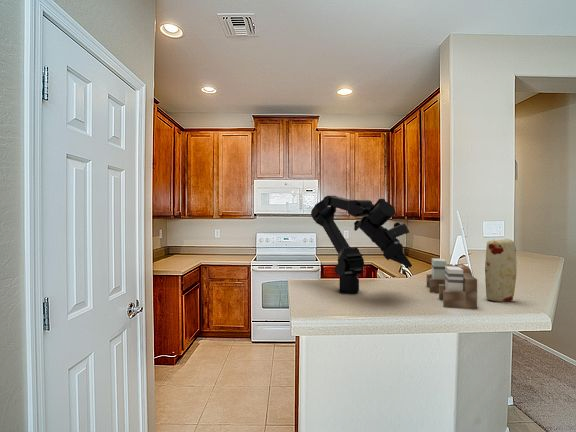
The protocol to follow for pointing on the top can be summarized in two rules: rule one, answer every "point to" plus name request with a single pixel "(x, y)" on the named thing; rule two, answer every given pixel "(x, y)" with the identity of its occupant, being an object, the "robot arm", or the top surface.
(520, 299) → the top surface
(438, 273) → the pale green box
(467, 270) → the tin
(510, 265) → the food model
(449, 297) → the housing
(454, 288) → the white rectangular block
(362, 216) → the robot arm
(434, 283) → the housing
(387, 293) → the top surface
